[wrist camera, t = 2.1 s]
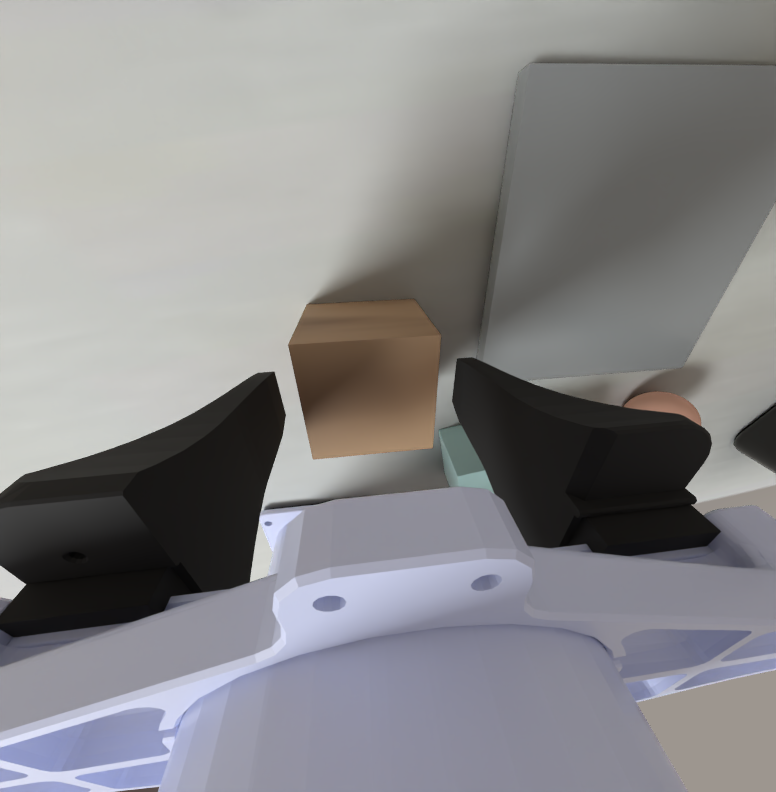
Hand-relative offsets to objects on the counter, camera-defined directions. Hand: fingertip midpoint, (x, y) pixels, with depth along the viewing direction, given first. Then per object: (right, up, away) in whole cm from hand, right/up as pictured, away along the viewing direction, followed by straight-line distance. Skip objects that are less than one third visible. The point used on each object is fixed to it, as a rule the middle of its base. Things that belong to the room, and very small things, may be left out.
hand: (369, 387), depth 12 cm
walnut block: (0, +2, +3) cm, 4 cm away
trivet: (+11, +6, +2) cm, 13 cm away
